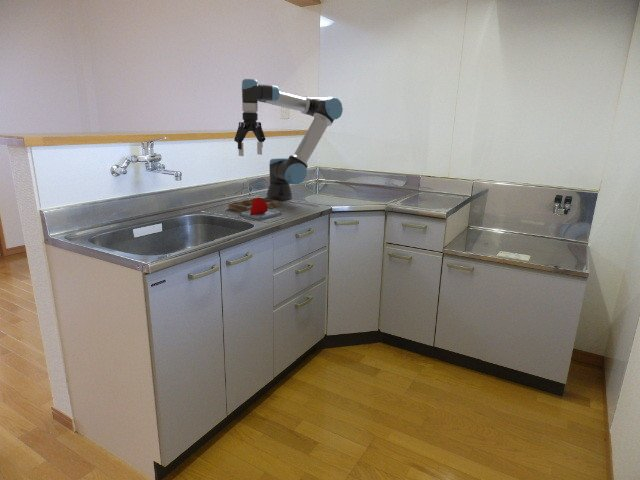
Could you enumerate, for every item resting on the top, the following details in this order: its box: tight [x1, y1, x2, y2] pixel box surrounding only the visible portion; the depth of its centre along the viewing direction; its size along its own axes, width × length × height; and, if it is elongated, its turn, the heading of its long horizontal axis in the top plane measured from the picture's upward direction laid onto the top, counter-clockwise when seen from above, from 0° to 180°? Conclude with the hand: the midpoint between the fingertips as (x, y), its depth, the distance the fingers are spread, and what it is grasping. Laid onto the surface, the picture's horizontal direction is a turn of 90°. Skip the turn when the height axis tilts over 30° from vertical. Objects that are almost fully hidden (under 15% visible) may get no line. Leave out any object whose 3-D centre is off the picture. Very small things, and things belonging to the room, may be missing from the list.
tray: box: [239, 208, 282, 221], centre depth 204 cm, size 15×13×2 cm
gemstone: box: [250, 197, 268, 215], centre depth 200 cm, size 9×9×10 cm
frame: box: [228, 197, 280, 213], centre depth 219 cm, size 23×14×3 cm, turn 145°
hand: (250, 155), depth 216 cm, fingers open, 13 cm apart
